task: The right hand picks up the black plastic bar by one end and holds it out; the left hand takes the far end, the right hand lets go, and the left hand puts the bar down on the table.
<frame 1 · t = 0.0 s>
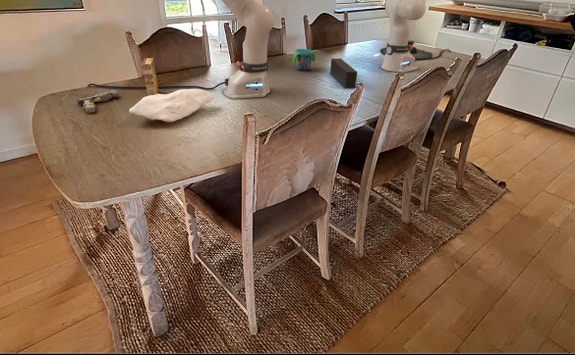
handgun: (101, 103, 156), on the table
candy box: (153, 94, 167), on the table
snack cup: (303, 69, 210), on the table
crumpled cloth: (172, 113, 149), on the table
bar: (341, 80, 195), on the table
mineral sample: (405, 53, 251), on the table
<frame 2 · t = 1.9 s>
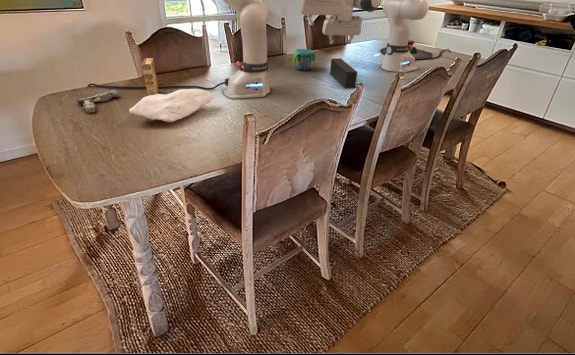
left hand: (321, 25, 169), 29 cm above the table, tool pointing down, fingers open, 8 cm apart
right hand: (340, 43, 193), 17 cm above the table, tool pointing down, fingers open, 8 cm apart
nothing on the table moved.
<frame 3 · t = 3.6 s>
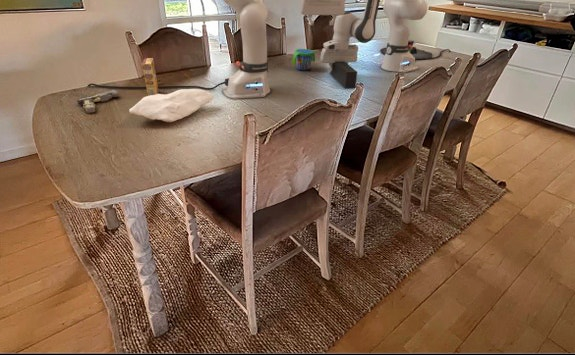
left hand: (321, 25, 169), 29 cm above the table, tool pointing down, fingers open, 8 cm apart
right hand: (337, 70, 201), 3 cm above the table, tool pointing down, fingers closed on bar, 5 cm apart
bar: (341, 80, 195), on the table, touching right hand
everything else where it was.
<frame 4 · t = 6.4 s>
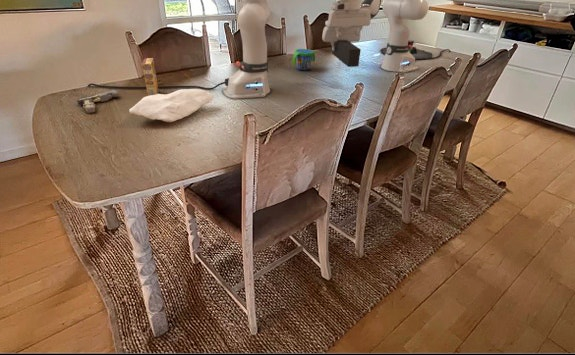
left hand: (348, 36, 175), 24 cm above the table, tool pointing down, fingers open, 8 cm apart
right hand: (339, 50, 195), 14 cm above the table, tool pointing down, fingers closed on bar, 5 cm apart
bar: (344, 59, 190), point 11 cm above the table, touching right hand
everything else where it was.
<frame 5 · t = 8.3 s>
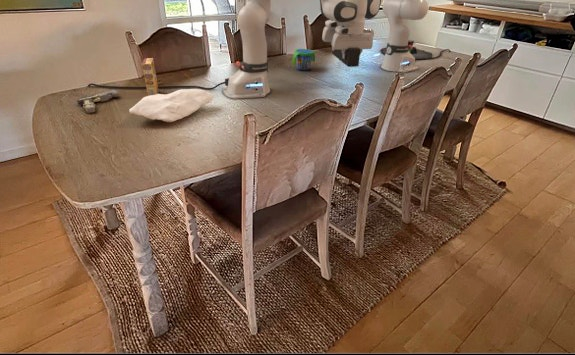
left hand: (350, 58, 181), 14 cm above the table, tool pointing down, fingers closed on bar, 5 cm apart
right hand: (339, 50, 195), 14 cm above the table, tool pointing down, fingers closed on bar, 5 cm apart
bar: (344, 59, 190), point 11 cm above the table, touching left hand, right hand
everything else where it was.
when the right hand's fingers open (14 cm above the table, at t = 9.6 s): bar stays where it is, held by the left hand.
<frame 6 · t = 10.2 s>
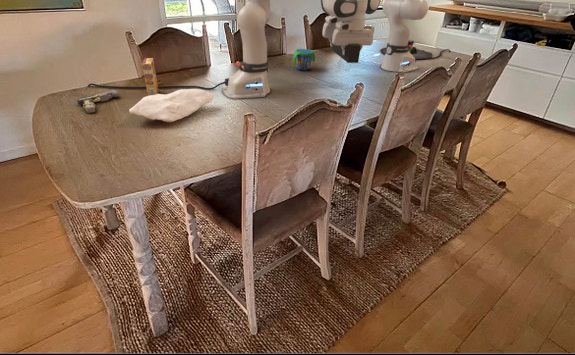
left hand: (350, 54, 180), 16 cm above the table, tool pointing down, fingers closed on bar, 5 cm apart
right hand: (340, 46, 195), 16 cm above the table, tool pointing down, fingers open, 8 cm apart
bar: (344, 56, 189), point 13 cm above the table, touching left hand
everything else where it was.
when the left hand's fingers open (4 cm above the table, at t = 13.4 s): bar stays where it is, on the table.
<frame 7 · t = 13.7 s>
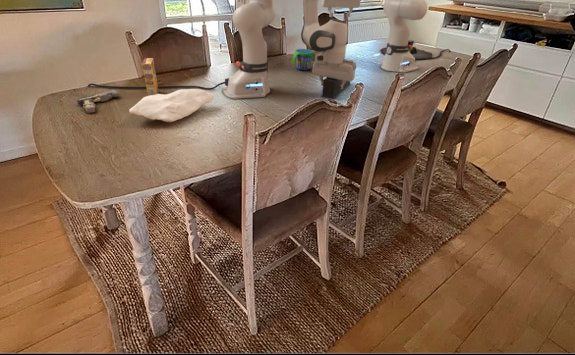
left hand: (331, 87, 173), 4 cm above the table, tool pointing down, fingers open, 8 cm apart
right hand: (339, 16, 191), 29 cm above the table, tool pointing down, fingers open, 8 cm apart
bar: (336, 90, 182), on the table
everything else where it was.
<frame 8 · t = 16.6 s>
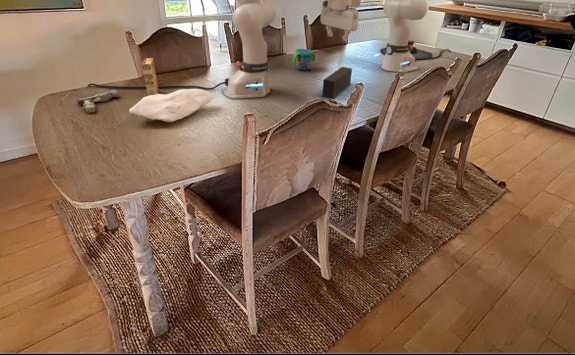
left hand: (337, 38, 161), 26 cm above the table, tool pointing down, fingers open, 8 cm apart
right hand: (339, 16, 191), 29 cm above the table, tool pointing down, fingers open, 8 cm apart
nothing on the table moved.
at the end: bar inside the target area (8.2 cm from its centre), on the table; the left hand is holding nothing; the right hand is holding nothing; bar at rest at the end (0.0 cm/s) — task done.
